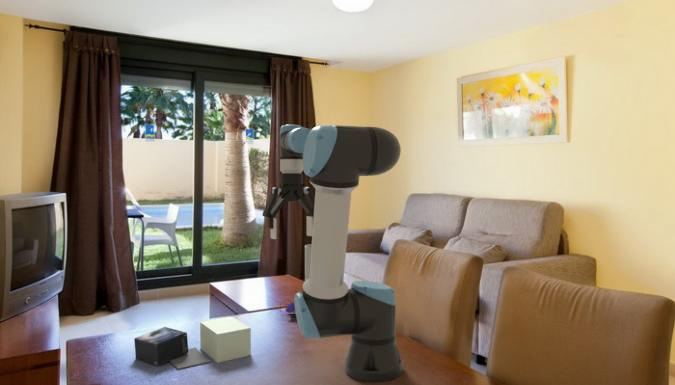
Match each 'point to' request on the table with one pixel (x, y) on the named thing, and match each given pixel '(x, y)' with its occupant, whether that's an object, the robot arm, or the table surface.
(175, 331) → the small box
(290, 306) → the game controller
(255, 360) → the table surface
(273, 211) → the robot arm
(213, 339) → the step
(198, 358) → the mat
